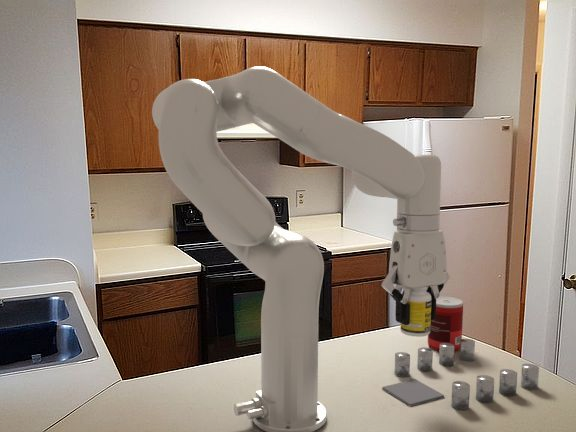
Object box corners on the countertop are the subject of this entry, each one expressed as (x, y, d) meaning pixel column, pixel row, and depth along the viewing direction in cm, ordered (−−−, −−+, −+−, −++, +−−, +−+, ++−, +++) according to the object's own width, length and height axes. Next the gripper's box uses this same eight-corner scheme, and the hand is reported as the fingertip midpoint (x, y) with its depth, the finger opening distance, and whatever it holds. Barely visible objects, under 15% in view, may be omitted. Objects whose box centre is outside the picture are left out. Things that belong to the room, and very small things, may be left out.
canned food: (457, 341, 129) (459, 296, 128) (465, 353, 121) (467, 305, 120) (424, 340, 130) (426, 295, 128) (430, 352, 122) (431, 304, 121)
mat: (410, 406, 95) (410, 404, 95) (382, 388, 102) (382, 386, 102) (444, 397, 99) (444, 395, 99) (415, 380, 106) (415, 379, 106)
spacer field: (460, 411, 94) (461, 389, 93) (391, 372, 110) (391, 353, 110) (541, 387, 103) (542, 367, 103) (466, 355, 120) (467, 337, 119)
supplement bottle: (429, 338, 96) (430, 285, 95) (398, 335, 98) (399, 283, 97) (431, 329, 101) (432, 278, 100) (402, 326, 103) (403, 276, 102)
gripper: (393, 229, 90) (391, 333, 92) (468, 222, 98) (465, 319, 100) (366, 224, 97) (365, 321, 99) (439, 218, 104) (436, 309, 106)
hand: (415, 319), depth 99 cm, fingers closed on supplement bottle, 5 cm apart
